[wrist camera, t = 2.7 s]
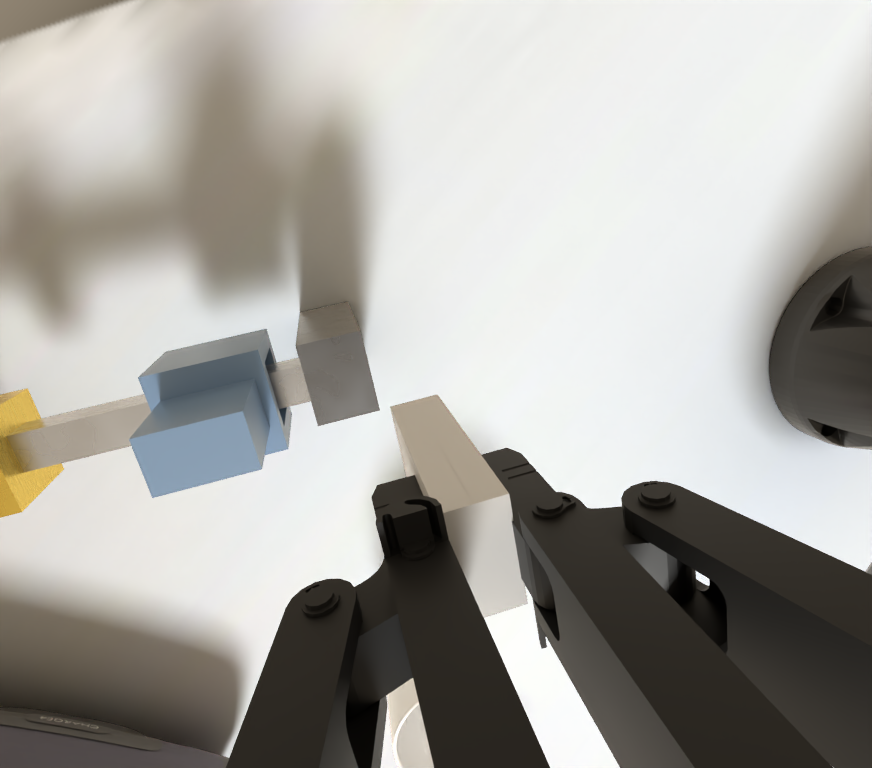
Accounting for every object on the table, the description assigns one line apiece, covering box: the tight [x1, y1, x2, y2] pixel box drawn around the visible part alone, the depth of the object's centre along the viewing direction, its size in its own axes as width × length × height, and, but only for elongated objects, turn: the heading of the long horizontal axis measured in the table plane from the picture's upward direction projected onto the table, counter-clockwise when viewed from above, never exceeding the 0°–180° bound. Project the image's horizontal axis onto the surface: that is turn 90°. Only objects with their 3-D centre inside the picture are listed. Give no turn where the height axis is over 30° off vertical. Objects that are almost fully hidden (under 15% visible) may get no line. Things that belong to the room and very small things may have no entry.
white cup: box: [387, 678, 434, 768], centre depth 38 cm, size 8×8×10 cm
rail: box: [0, 301, 380, 517], centre depth 29 cm, size 25×4×11 cm, turn 101°
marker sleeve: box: [129, 329, 292, 498], centre depth 25 cm, size 5×5×9 cm
